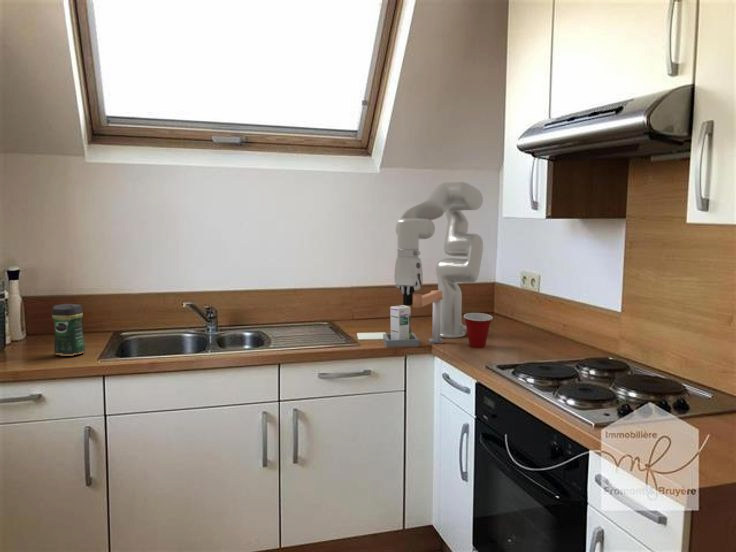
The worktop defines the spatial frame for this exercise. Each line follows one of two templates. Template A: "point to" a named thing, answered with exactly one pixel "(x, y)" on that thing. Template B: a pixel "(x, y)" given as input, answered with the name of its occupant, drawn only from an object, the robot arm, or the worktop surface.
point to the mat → (370, 336)
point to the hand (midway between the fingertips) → (407, 304)
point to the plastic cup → (477, 328)
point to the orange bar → (426, 298)
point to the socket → (414, 340)
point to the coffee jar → (68, 328)
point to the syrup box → (400, 322)
